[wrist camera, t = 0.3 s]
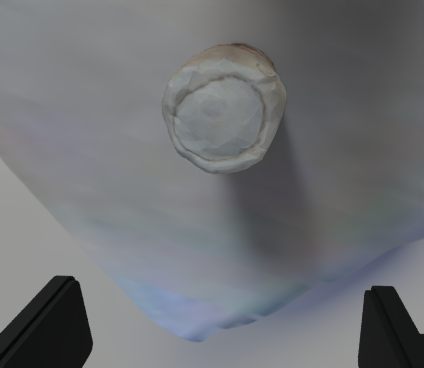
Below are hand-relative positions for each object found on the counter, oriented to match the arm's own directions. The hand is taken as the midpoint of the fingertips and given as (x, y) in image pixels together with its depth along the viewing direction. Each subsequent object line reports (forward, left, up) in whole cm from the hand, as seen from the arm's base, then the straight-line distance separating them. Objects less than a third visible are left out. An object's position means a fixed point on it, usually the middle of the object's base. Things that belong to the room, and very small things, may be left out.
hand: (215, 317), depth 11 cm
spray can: (-5, -1, -31) cm, 31 cm away
